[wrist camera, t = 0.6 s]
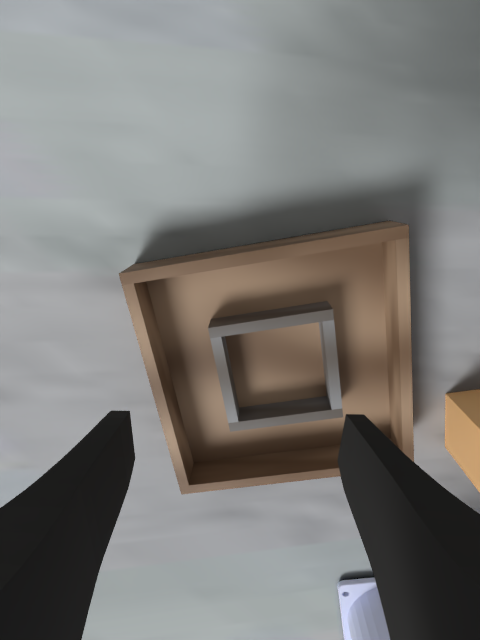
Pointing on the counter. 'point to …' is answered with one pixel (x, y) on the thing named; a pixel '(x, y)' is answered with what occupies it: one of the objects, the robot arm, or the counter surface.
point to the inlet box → (276, 352)
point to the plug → (464, 431)
